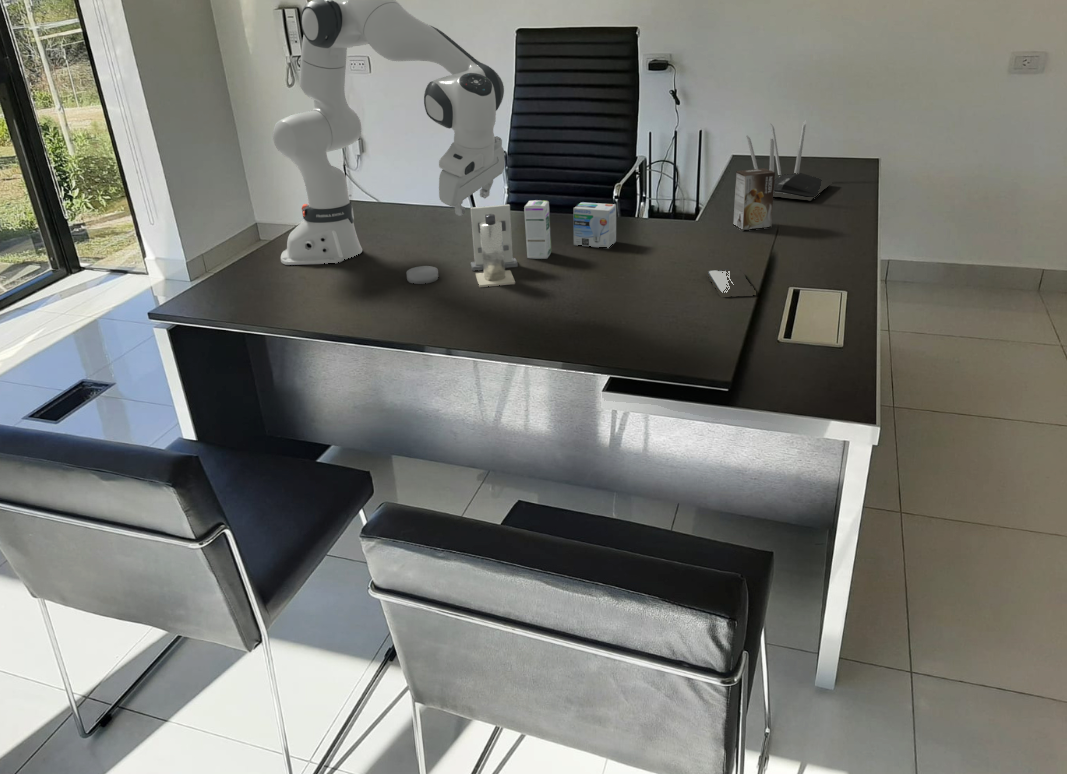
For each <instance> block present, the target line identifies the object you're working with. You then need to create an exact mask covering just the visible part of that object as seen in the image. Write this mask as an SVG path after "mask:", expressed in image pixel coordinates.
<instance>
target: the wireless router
mask: <svg viewBox="0 0 1067 774" xmlns="http://www.w3.org/2000/svg"><path fill="white" fill-rule="evenodd" d="M806 127H807V119H804V120H803V122H802V125H801V131H800V136H799V142H798V148H797V153H796V159H795V166H794V172H793V173H792V174H787V175H786V174H784V173H782V171H781V170H782V169H781V164H780V157H779V150H778V144H777V143H778V142H777V137H776V136H777V135H776V132H775V127H774V126H773V124H772V123H770V129H771V137H772V138H770V141H769V143H770V144H769V170H770V171H773V172H775V163H776V169H777V175H781V176H779V177H775V181H774V192H775V193H783V194H791V195H797V196H802V197H814V196H816V195H817V194H818V192H819V191H818V190H819V189H820V186H821V181H822V180H821V179H819V178H820V177H819V178H816V177H817V176H813V177H812V175H809V174H805V173H802V172H800V168H801V162H802V155H803V148H804V147H803V146H804V140H805V133H806ZM746 140H747V145H748V148H749V152H750V156H751V160H752V165H753V169H759V168H758V164H757V159H756V156H755V155H756V154H755V152H754V147H753V143H752V140H751V137H749V135H746ZM794 173H796V174H797V173H798V174H797V175H796V174H794ZM783 174H784V175H783Z"/></svg>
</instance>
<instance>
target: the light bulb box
mask: <svg viewBox="0 0 1067 774" xmlns="http://www.w3.org/2000/svg"><path fill="white" fill-rule="evenodd" d="M616 242H617V204H616V203H614V204H613V203H599V202H598V203H596V202H584V201H582V202H580V203H577V204H576V206H575V207H573V246H578V245H582V246H581V247H589V246H591V247H592V248H599V247H607V248H606V249H610V248H611V247H612V246H613V245H614V244H615V243H616ZM612 244H613V245H612ZM611 245H612V246H611ZM610 246H611V247H610ZM609 247H610V248H609Z"/></svg>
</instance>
